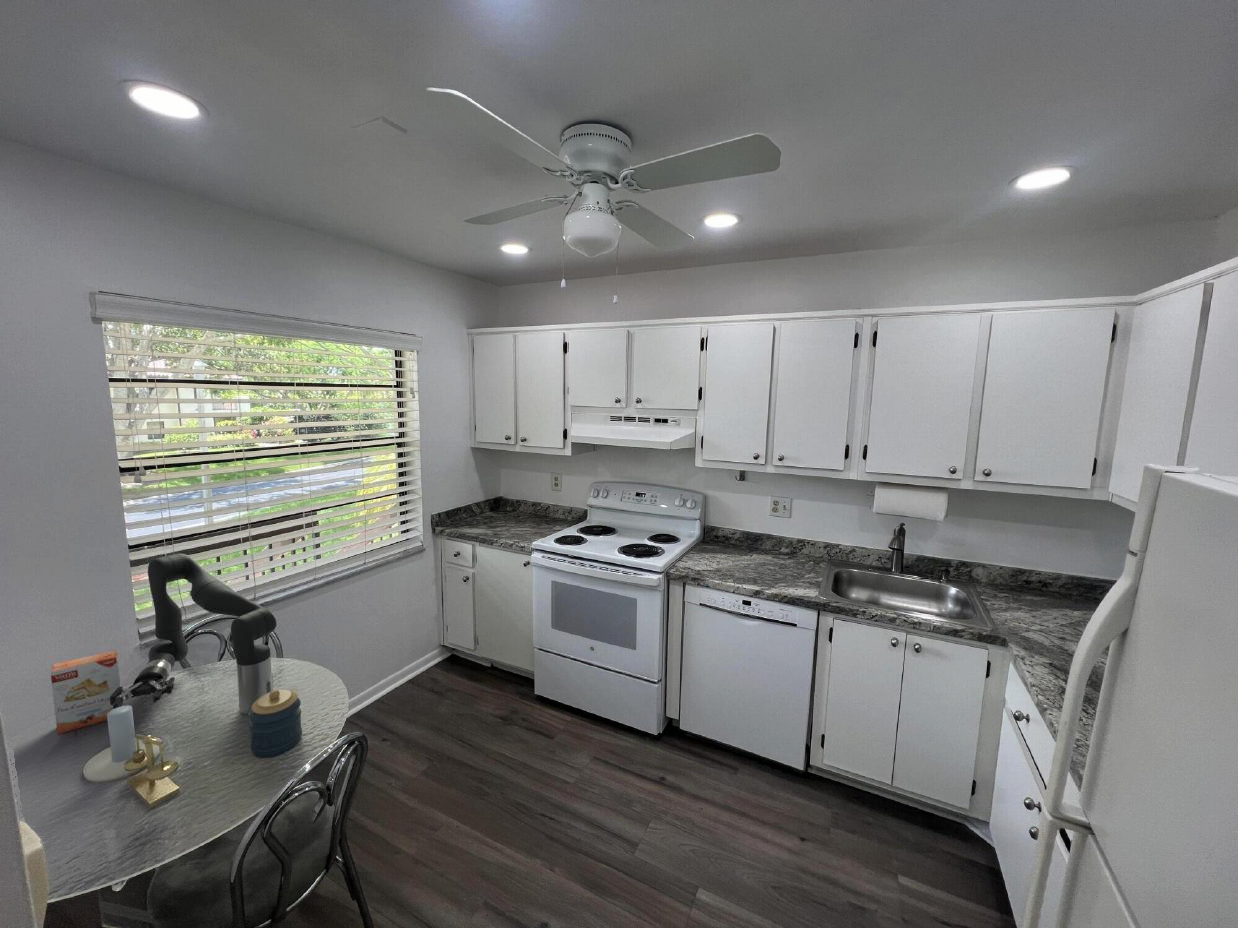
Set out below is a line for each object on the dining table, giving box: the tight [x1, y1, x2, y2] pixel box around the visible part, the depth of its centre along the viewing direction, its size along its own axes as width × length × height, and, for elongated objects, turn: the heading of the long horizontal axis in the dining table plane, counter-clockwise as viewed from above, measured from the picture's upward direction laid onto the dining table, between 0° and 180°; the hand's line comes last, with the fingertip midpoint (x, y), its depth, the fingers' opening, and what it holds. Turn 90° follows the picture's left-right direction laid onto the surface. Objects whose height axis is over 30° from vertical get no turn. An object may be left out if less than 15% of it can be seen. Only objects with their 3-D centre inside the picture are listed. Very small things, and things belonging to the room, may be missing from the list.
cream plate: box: [82, 736, 164, 784], centre depth 141 cm, size 16×16×2 cm
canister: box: [248, 689, 303, 759], centre depth 149 cm, size 13×13×18 cm
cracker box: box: [50, 650, 122, 735], centre depth 154 cm, size 14×6×21 cm, turn 133°
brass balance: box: [124, 733, 180, 810], centre depth 131 cm, size 22×6×17 cm, turn 61°
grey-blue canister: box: [106, 705, 137, 762], centre depth 140 cm, size 5×5×14 cm
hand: (135, 703), depth 149 cm, fingers open, 8 cm apart
